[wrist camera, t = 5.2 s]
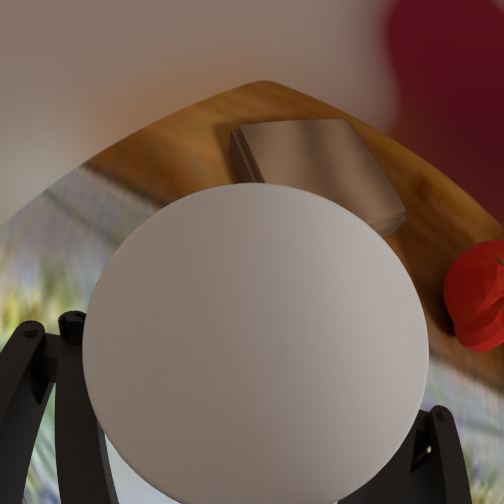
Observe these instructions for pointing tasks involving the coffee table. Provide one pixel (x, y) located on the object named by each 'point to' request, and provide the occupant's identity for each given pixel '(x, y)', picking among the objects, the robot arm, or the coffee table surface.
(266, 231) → the supplement tub
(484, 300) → the tomato
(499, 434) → the coffee table surface
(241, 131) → the plinth
